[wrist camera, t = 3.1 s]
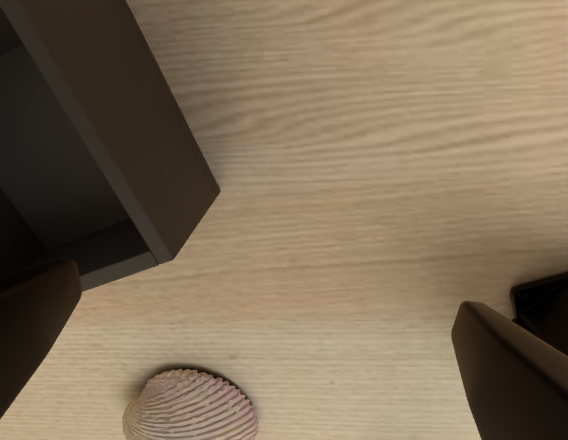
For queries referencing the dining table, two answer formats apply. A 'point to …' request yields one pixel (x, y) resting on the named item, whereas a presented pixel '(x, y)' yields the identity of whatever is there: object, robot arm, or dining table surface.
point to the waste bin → (91, 144)
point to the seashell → (189, 410)
